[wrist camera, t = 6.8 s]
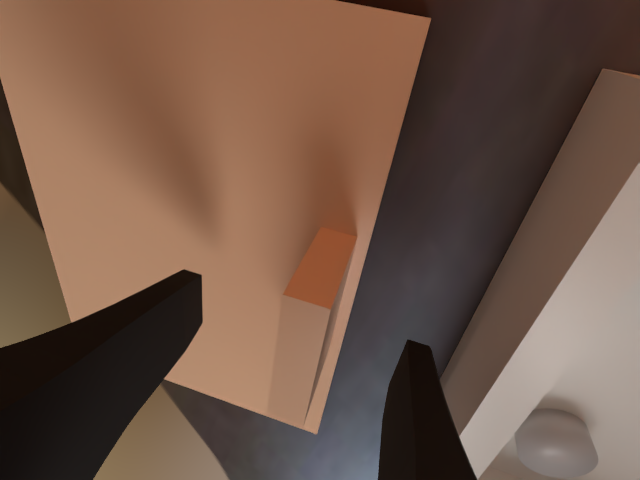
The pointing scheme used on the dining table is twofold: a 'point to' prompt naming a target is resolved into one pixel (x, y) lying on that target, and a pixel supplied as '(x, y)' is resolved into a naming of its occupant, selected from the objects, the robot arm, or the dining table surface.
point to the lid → (215, 168)
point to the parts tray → (563, 316)
